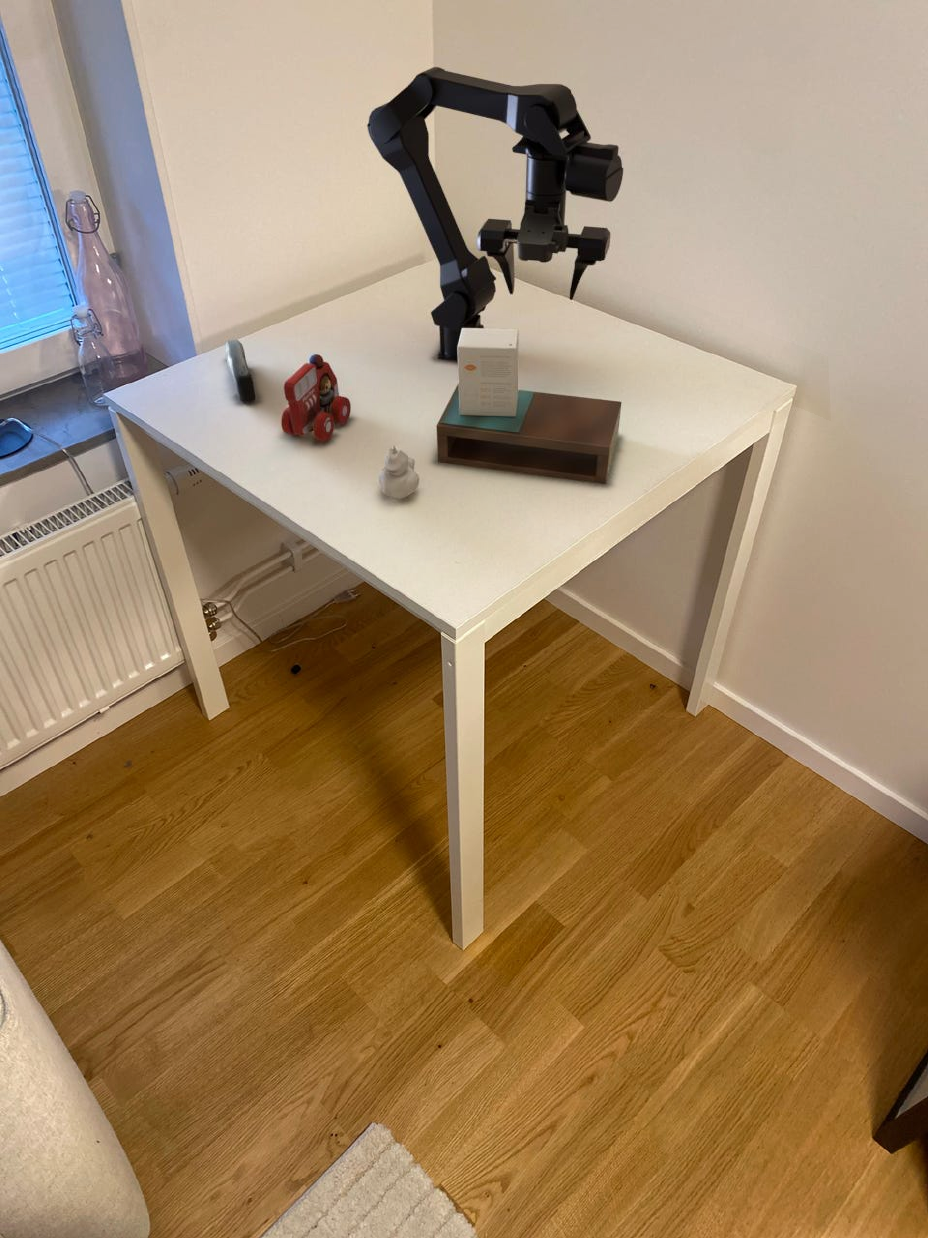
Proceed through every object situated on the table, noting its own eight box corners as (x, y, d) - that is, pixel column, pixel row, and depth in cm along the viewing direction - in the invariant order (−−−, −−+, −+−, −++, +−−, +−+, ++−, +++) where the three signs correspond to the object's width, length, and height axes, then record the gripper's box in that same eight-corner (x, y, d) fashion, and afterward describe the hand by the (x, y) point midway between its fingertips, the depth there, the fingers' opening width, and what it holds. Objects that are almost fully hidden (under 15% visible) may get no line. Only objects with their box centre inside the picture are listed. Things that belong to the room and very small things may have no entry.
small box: (518, 397, 133) (520, 328, 126) (516, 418, 129) (517, 347, 122) (462, 395, 134) (461, 326, 127) (458, 415, 130) (456, 345, 123)
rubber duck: (371, 499, 127) (366, 449, 121) (395, 473, 131) (391, 424, 125) (406, 509, 125) (403, 458, 119) (429, 483, 129) (427, 433, 124)
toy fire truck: (358, 410, 143) (351, 347, 136) (318, 452, 135) (309, 388, 128) (318, 402, 145) (309, 339, 138) (277, 443, 137) (265, 379, 130)
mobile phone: (254, 374, 142) (237, 329, 152) (234, 378, 142) (218, 332, 152) (259, 402, 146) (242, 357, 156) (240, 406, 145) (224, 360, 155)
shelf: (437, 461, 133) (436, 424, 129) (459, 418, 141) (458, 381, 137) (605, 484, 128) (610, 445, 124) (617, 437, 137) (621, 400, 132)
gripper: (467, 204, 127) (468, 313, 138) (603, 214, 124) (594, 325, 134) (486, 176, 135) (486, 281, 146) (615, 185, 131) (605, 293, 142)
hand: (541, 295), depth 142 cm, fingers open, 9 cm apart
